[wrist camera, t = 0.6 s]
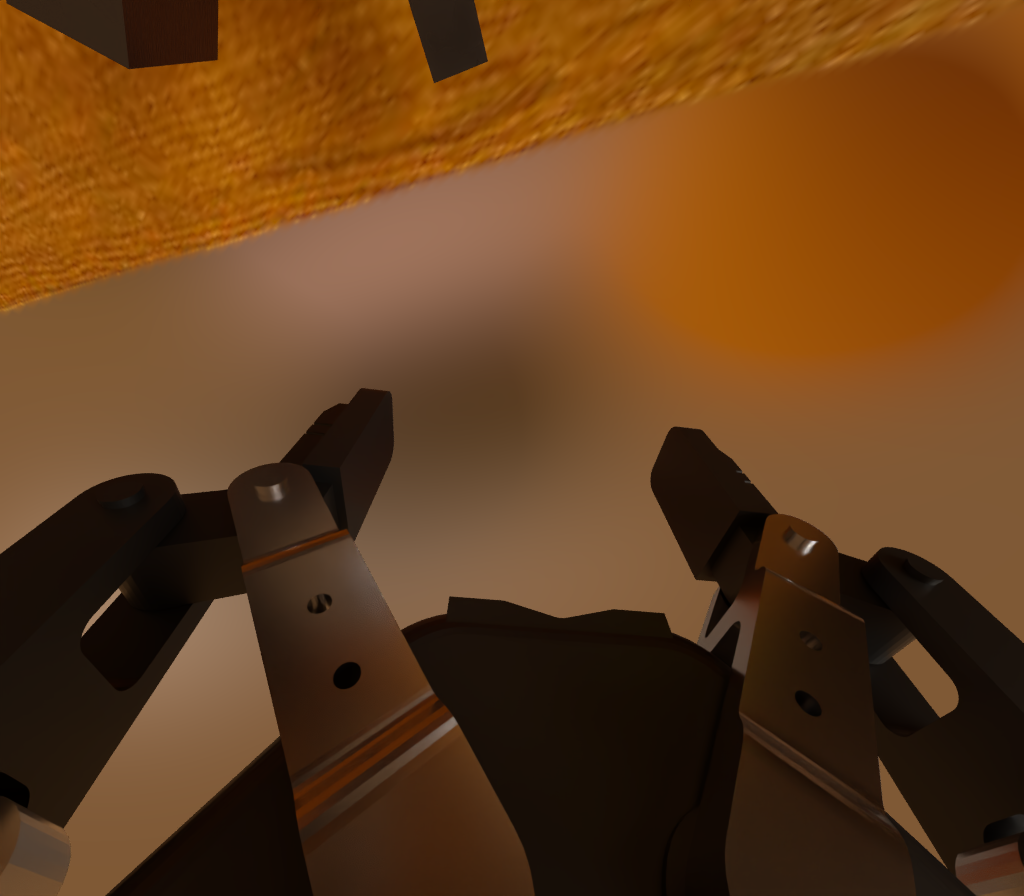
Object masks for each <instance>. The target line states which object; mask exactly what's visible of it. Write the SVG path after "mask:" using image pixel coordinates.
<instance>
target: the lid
mask: <svg viewBox="0 0 1024 896" xmlns="http://www.w3.org/2000/svg"><path fill="white" fill-rule="evenodd" d="M6 1H7V4H9V5H11V6H13V7H15V8H17V9H18V10H20V11H22V12H24V13H26V14H28V15H30V16H32V17H33V18H35V19H37V20H39V21H41V22H43V23H45V24H46V25H48V26H50V27H52V28H54V29H56V30H58V31H59V32H61V33H63V34H65V35H67V36H69V37H71V38H72V39H74V40H76V41H78V42H80V43H82V44H84V45H85V46H87V47H89V48H91V49H93V50H95V51H97V52H98V53H100V54H102V55H104V56H106V57H108V58H110V59H111V60H113V61H115V62H117V63H119V64H121V65H123V66H124V67H126V68H128V69H135V68H144V67H154V66H164V65H174V64H183V63H193V62H203V61H213V60H218V0H6Z"/></svg>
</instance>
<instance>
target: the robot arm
mask: <svg viewBox="0 0 1024 896" xmlns="http://www.w3.org/2000/svg"><path fill="white" fill-rule="evenodd" d="M393 447H394V431H393V408H392V395H391V393H390V392H389V391H382V390H374V389H365V388H361V389H360V390H359V391H358V392H357V394H356V395H355V396H354V397H353V399H352V400H351V401H350V403H349V404H341V403H340V404H337V405H335V406H333V407H331V408H330V409H328V410H326V411H324V412H323V413H322V414H321V415H320V416H319V417H318V419H317V420H316V421H315V422H314V425H312V426H311V427H310V428H309V429H308V430H307V432H306V434H304V435H303V436H302V437H301V438H300V440H299V441H298V442H297V443H296V444H295V445H294V446H293V448H292V449H291V450H290V451H289V452H288V453H287V454H286V456H285V457H284V458H283V459H282V460H281V461H280V462H279V463H272V464H266V465H262V466H258V467H255V468H253V469H250V470H248V471H246V472H244V473H243V474H241V475H239V476H238V477H237V478H236V479H235V480H234V481H233V482H232V483H231V484H230V486H229V487H228V489H227V490H220V491H210V492H201V493H191V494H182V495H180V492H179V490H178V488H177V486H176V484H175V482H174V480H172V479H171V478H170V477H167V476H165V475H161V474H154V473H142V474H133V475H127V476H122V477H118V478H115V479H111V480H108V481H105V482H103V483H100V484H98V485H96V486H94V487H91V488H90V489H88V490H86V491H84V492H83V493H81V494H80V495H78V496H77V497H76V498H74V499H73V500H72V501H70V502H69V503H68V504H66V505H65V506H64V507H62V508H61V509H60V510H58V511H57V512H56V513H54V514H53V515H52V516H50V517H49V518H48V519H46V520H45V521H44V522H42V523H41V524H40V525H38V526H37V527H36V528H35V529H33V530H32V531H30V532H29V533H28V534H26V535H25V536H24V537H22V538H21V539H20V540H18V541H17V542H16V543H14V544H13V545H12V546H10V547H9V548H8V549H6V550H5V551H4V552H3V553H1V554H0V896H57V894H58V892H59V890H60V888H61V886H62V884H63V882H64V879H65V876H66V873H67V871H68V866H69V862H70V857H71V844H70V840H69V837H68V835H67V833H66V832H65V830H64V829H63V828H64V827H65V825H66V824H67V822H68V821H69V819H70V818H71V816H72V815H73V813H74V812H75V810H76V809H77V807H78V806H79V804H80V802H81V801H82V800H83V798H84V797H85V795H86V793H87V792H88V790H89V789H90V787H91V786H92V784H93V783H94V781H95V780H96V778H97V777H98V775H99V774H100V772H101V770H102V769H103V768H104V766H105V765H106V763H107V761H108V760H109V758H110V757H111V755H112V754H113V752H114V751H115V749H116V748H117V746H118V745H119V743H120V742H121V740H122V739H123V737H124V735H125V734H126V733H127V731H128V730H129V728H130V727H131V725H132V724H133V722H134V720H135V719H136V717H137V716H138V714H139V713H140V711H141V710H142V708H143V707H144V705H145V704H146V702H147V701H148V699H149V698H150V696H151V694H152V693H153V692H154V690H155V689H156V687H157V685H158V684H159V682H160V681H161V679H162V678H163V676H164V675H165V673H166V672H167V670H168V669H169V667H170V666H171V664H172V663H173V661H174V660H175V658H176V657H177V655H178V654H179V652H180V650H181V649H182V647H183V646H184V644H185V643H186V641H187V640H188V638H189V637H190V635H191V634H192V632H193V631H194V629H195V628H196V626H197V625H198V623H199V621H200V620H201V619H202V617H203V616H204V614H205V612H206V611H207V609H208V608H209V606H210V605H211V603H212V602H213V600H214V599H219V598H224V597H229V596H234V595H240V594H245V593H247V595H248V600H249V604H250V608H251V613H252V617H253V621H254V626H255V630H256V634H257V638H258V643H259V647H260V651H261V656H262V660H263V664H264V668H265V673H266V677H267V681H268V686H269V690H270V694H271V698H272V703H273V707H274V711H275V715H276V720H277V724H278V729H279V732H280V736H279V737H278V738H277V739H276V740H275V741H274V742H273V743H272V744H271V745H269V746H268V747H267V748H266V749H265V750H264V751H263V752H262V753H261V754H260V755H259V756H257V757H256V758H255V759H254V760H253V761H252V762H251V763H250V764H249V765H248V766H246V767H245V768H244V769H243V770H242V771H241V772H240V773H239V774H238V775H237V776H236V777H234V778H233V779H232V780H231V781H230V782H229V783H228V784H227V785H226V786H225V787H224V788H222V790H220V791H219V792H218V793H217V794H216V795H215V796H214V797H213V798H212V799H211V800H210V801H208V802H207V803H206V804H205V805H204V806H203V807H202V808H201V809H200V810H199V811H197V812H196V813H195V814H194V815H193V816H192V817H191V818H190V819H189V820H188V821H187V822H185V824H183V825H182V826H181V827H180V828H179V829H178V830H177V831H176V832H175V833H173V834H172V835H171V836H170V837H169V838H168V839H167V840H166V841H165V842H164V843H163V844H161V845H160V846H159V847H158V848H157V849H156V850H155V851H154V852H153V853H152V854H150V855H149V856H148V857H147V858H146V859H145V860H144V861H143V862H142V863H141V864H139V865H138V866H137V867H136V868H135V869H134V870H133V871H132V872H131V873H130V874H129V875H127V876H126V877H125V878H124V879H123V880H122V881H121V882H120V883H119V884H118V885H117V886H116V887H114V888H113V889H112V890H111V891H110V892H109V893H108V894H107V895H106V896H1024V643H1022V641H1021V640H1020V639H1019V638H1017V637H1016V636H1015V635H1014V634H1013V633H1012V632H1011V631H1010V630H1008V628H1006V627H1005V626H1004V625H1003V624H1002V623H1001V622H1000V621H999V620H997V618H995V617H994V616H993V615H992V614H991V613H990V612H989V611H987V609H986V608H984V607H983V606H982V605H981V604H980V603H979V602H978V601H976V599H974V598H973V597H972V596H971V595H970V594H969V593H968V592H967V591H966V590H965V589H963V588H962V587H961V586H960V585H959V584H958V583H957V582H956V581H955V580H954V579H952V578H951V577H950V576H949V575H948V574H947V573H945V572H944V571H943V570H941V569H940V568H938V567H937V566H935V565H934V564H932V563H930V562H928V561H927V560H925V559H923V558H921V557H919V556H917V555H915V554H912V553H910V552H907V551H905V550H901V549H897V548H893V547H884V548H881V549H880V550H879V551H878V552H877V553H876V554H875V555H874V556H873V557H872V558H871V559H870V560H869V561H868V562H867V561H864V560H860V559H857V558H854V557H851V556H847V555H844V554H841V553H838V550H837V547H836V546H835V544H834V543H833V542H832V541H831V540H830V538H829V537H828V536H826V535H825V534H824V533H823V532H822V531H820V530H819V529H817V528H816V527H814V526H813V525H811V524H809V523H807V522H805V521H803V520H801V519H798V518H796V517H793V516H789V515H785V514H778V513H777V512H776V510H775V509H774V508H773V507H772V506H771V505H770V503H769V502H768V501H767V500H766V499H765V497H764V496H763V495H762V494H761V493H760V491H759V490H758V489H757V488H756V487H755V486H754V484H751V483H750V482H751V481H750V480H749V479H748V477H747V476H746V475H745V474H742V470H741V469H740V468H739V467H738V466H737V464H736V463H735V462H734V461H733V460H732V459H731V458H730V457H728V456H727V455H726V454H724V453H723V452H721V451H720V450H719V449H718V448H717V447H716V446H715V445H714V444H713V442H711V440H710V439H709V438H708V436H707V435H706V434H705V433H704V432H703V431H702V430H700V429H692V428H684V427H673V428H671V429H670V431H669V432H668V434H667V436H666V439H665V441H664V443H663V446H662V448H661V450H660V453H659V455H658V457H657V460H656V462H655V464H654V467H653V469H652V472H651V488H652V491H653V493H654V495H655V497H656V499H657V501H658V503H659V505H660V507H661V509H662V511H663V513H664V515H665V518H666V520H667V522H668V524H669V526H670V528H671V530H672V532H673V534H674V536H675V538H676V540H677V542H678V544H679V546H680V548H681V550H682V552H683V554H684V557H685V559H686V561H687V562H688V565H689V567H690V569H691V571H692V573H693V575H694V577H695V579H696V580H704V581H716V582H717V583H718V584H719V587H718V589H717V590H716V591H715V593H714V595H713V597H712V600H711V603H710V606H709V609H708V612H707V615H706V618H705V621H704V624H703V627H702V630H701V633H700V636H699V639H698V642H697V644H696V643H694V642H692V641H690V640H688V639H686V638H683V637H681V636H679V635H677V634H674V633H671V630H670V628H669V625H668V622H667V619H666V617H665V614H664V613H653V612H641V611H628V610H615V609H613V610H607V611H602V612H596V613H591V614H585V615H580V616H575V617H569V618H557V617H553V616H550V615H547V614H544V613H541V612H538V611H535V610H532V609H528V608H525V607H522V606H519V605H516V604H513V603H509V602H506V601H501V600H489V599H475V598H463V597H449V603H448V610H447V614H443V615H438V616H434V617H431V618H427V619H424V620H421V621H419V622H417V623H414V624H412V625H410V626H407V627H406V628H404V629H402V630H400V628H399V626H398V624H397V622H396V620H395V619H394V616H393V615H392V613H391V611H390V609H389V607H388V605H387V603H386V601H385V599H384V597H383V596H382V594H381V592H380V590H379V588H378V586H377V584H376V582H375V580H374V579H373V577H372V575H371V573H370V571H369V569H368V567H367V565H366V563H365V561H364V560H363V558H362V556H361V554H360V552H359V550H358V548H357V546H356V544H355V542H354V541H355V539H356V537H357V535H358V532H359V530H360V528H361V526H362V524H363V521H364V519H365V517H366V514H367V512H368V510H369V508H370V505H371V504H372V501H373V499H374V497H375V495H376V492H377V490H378V488H379V486H380V483H381V481H382V479H383V477H384V475H385V472H386V470H387V468H388V465H389V463H390V461H391V458H392V454H393ZM118 588H119V589H120V591H121V592H122V593H121V594H120V595H119V596H118V597H117V598H116V599H115V601H114V602H113V603H112V604H111V605H110V606H109V607H108V608H107V610H106V611H105V612H104V613H103V614H102V615H101V616H100V617H99V618H98V619H97V621H96V622H95V623H94V624H93V625H92V626H91V627H90V628H89V630H88V631H87V632H86V633H85V634H84V635H83V636H82V633H83V630H84V628H85V626H86V625H87V623H88V621H89V620H90V619H91V617H92V616H93V615H94V614H95V613H96V612H97V611H98V610H99V609H100V607H101V606H102V605H103V604H104V603H105V602H106V601H107V600H108V599H109V598H110V597H111V595H112V594H113V593H114V592H115V591H116V590H117V589H118ZM81 636H82V637H81ZM915 639H917V640H918V641H919V642H920V643H921V645H922V646H923V647H924V648H925V649H926V650H927V652H928V653H929V654H930V655H931V656H932V657H933V659H934V660H935V661H936V662H937V663H938V664H939V665H940V667H941V668H942V669H943V670H944V671H945V672H946V674H948V676H949V677H950V678H951V680H952V681H953V683H954V684H955V686H956V688H957V691H958V695H959V702H958V705H957V707H956V708H955V709H954V710H953V711H952V712H950V713H948V714H946V715H945V716H943V717H941V718H939V716H938V715H937V714H936V713H935V711H934V710H933V709H932V707H931V706H930V705H929V704H928V702H927V701H926V700H925V698H924V697H923V696H922V695H921V693H920V692H919V691H918V689H917V688H916V687H915V686H914V684H913V683H912V682H911V680H910V679H909V678H908V677H907V675H906V674H905V673H904V671H903V670H902V669H901V668H900V666H899V665H898V664H897V662H896V661H895V660H894V659H893V657H892V656H894V655H895V654H896V653H898V652H899V651H900V650H901V649H903V648H904V647H905V646H907V645H908V644H909V643H911V642H912V641H913V640H915ZM878 756H879V758H880V760H881V761H882V763H883V764H884V766H885V768H886V769H887V771H888V772H889V774H890V776H891V777H892V779H893V781H894V782H895V784H896V786H897V787H898V789H899V790H900V792H901V794H902V795H903V797H904V799H905V800H906V802H907V803H908V805H909V807H910V808H911V810H912V812H913V813H914V815H915V816H916V818H917V820H918V821H919V823H920V825H921V826H922V828H923V829H924V831H925V833H926V834H927V836H928V837H929V839H930V841H931V842H932V844H933V846H934V847H935V849H936V851H937V852H938V854H939V855H940V857H941V859H942V860H943V862H944V863H945V865H946V867H947V868H948V869H947V868H946V867H945V866H944V865H943V864H942V863H941V862H939V861H938V860H937V859H936V858H935V857H934V856H933V855H932V854H931V853H930V852H929V851H928V850H927V849H925V848H924V847H923V846H922V845H921V844H920V843H919V842H918V841H917V840H916V839H915V838H914V837H913V836H911V835H910V834H909V833H908V832H907V831H906V830H905V829H904V828H903V827H902V826H901V825H900V824H898V823H897V822H896V821H895V820H894V819H893V818H892V817H891V816H890V815H889V814H888V813H887V812H885V810H884V806H883V801H882V791H881V782H880V781H881V780H880V770H879V760H878Z"/></svg>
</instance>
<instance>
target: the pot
mask: <svg viewBox="0 0 1024 896" xmlns="http://www.w3.org/2000/svg"><path fill="white" fill-rule="evenodd" d="M408 1H409V4H410V7H411V10H412V14H413V17H414V20H415V23H416V26H417V30H418V33H419V36H420V39H421V42H422V46H423V49H424V52H425V55H426V58H427V62H428V65H429V68H430V71H431V74H432V78H433V81H434V83H436V82H438V81H441V80H443V79H446V78H448V77H451V76H453V75H455V74H458V73H460V72H463V71H465V70H468V69H470V68H473V67H475V66H478V65H480V64H482V63H485V62H487V61H488V60H487V56H486V51H485V47H484V43H483V38H482V34H481V29H480V25H479V21H478V16H477V12H476V7H475V3H474V0H408Z"/></svg>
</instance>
